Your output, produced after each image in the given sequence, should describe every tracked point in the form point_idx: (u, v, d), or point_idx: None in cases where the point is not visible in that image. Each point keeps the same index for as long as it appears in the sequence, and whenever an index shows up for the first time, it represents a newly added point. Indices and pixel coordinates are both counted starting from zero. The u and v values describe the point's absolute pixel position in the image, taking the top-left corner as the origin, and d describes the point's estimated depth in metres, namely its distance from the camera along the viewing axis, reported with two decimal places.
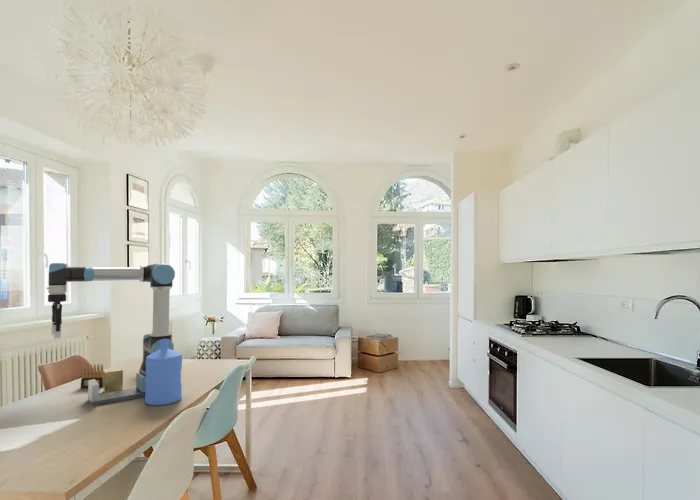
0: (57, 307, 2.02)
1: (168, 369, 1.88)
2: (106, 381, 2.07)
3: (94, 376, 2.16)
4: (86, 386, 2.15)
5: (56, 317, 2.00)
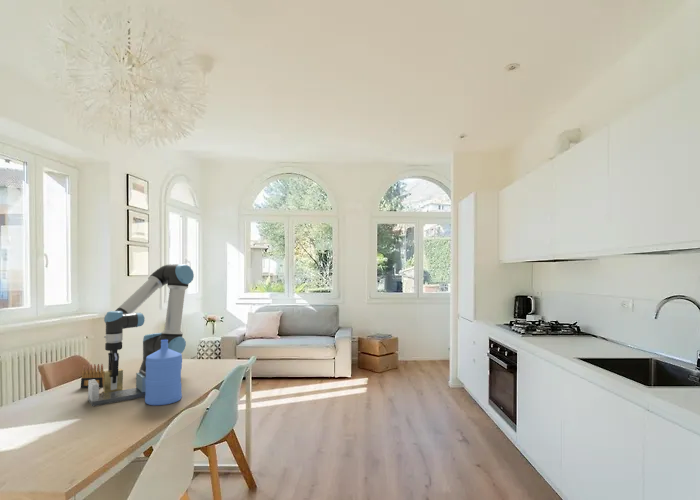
0: (115, 359, 2.06)
1: (168, 369, 1.88)
2: (106, 381, 2.07)
3: (94, 376, 2.16)
4: (86, 386, 2.15)
5: (113, 370, 2.06)
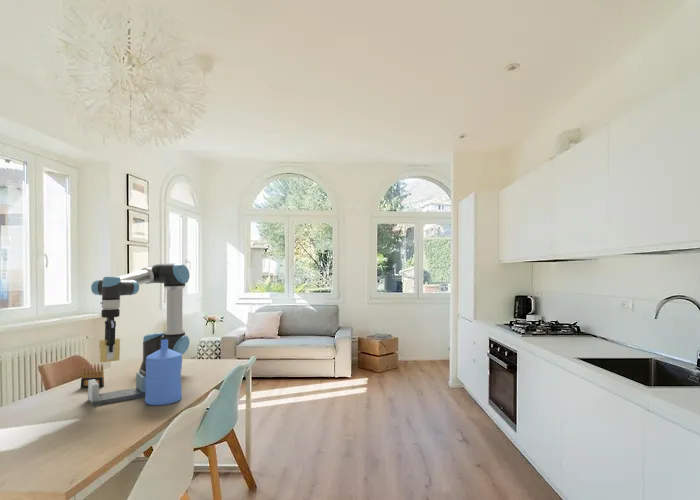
0: (111, 327, 1.93)
1: (168, 369, 1.88)
2: (102, 350, 1.94)
3: (94, 376, 2.16)
4: (86, 386, 2.15)
5: (110, 338, 1.93)
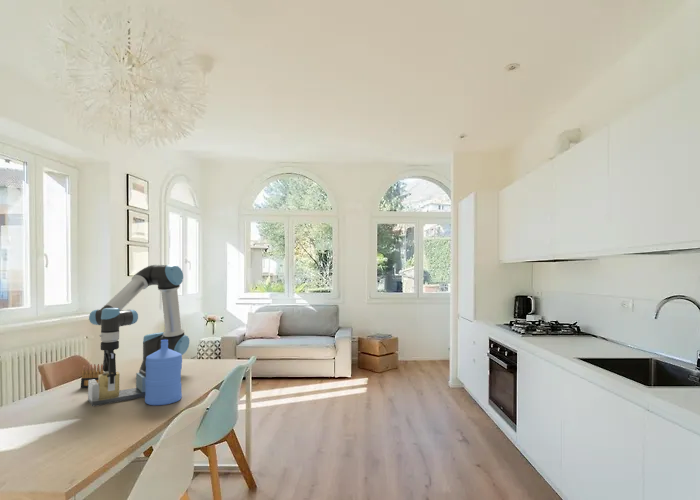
0: (111, 357, 1.90)
1: (168, 369, 1.88)
2: (101, 385, 1.92)
3: (94, 376, 2.16)
4: (86, 386, 2.15)
5: (110, 369, 1.89)
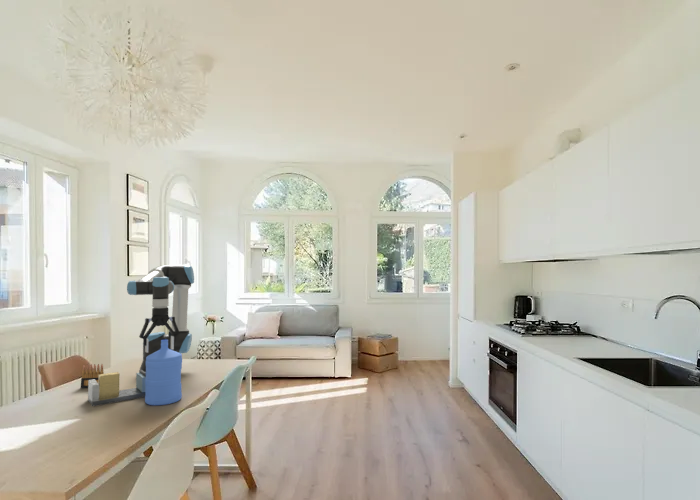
0: (145, 321, 2.07)
1: (168, 369, 1.88)
2: (101, 385, 1.92)
3: (94, 376, 2.16)
4: (86, 386, 2.15)
5: (141, 331, 2.06)
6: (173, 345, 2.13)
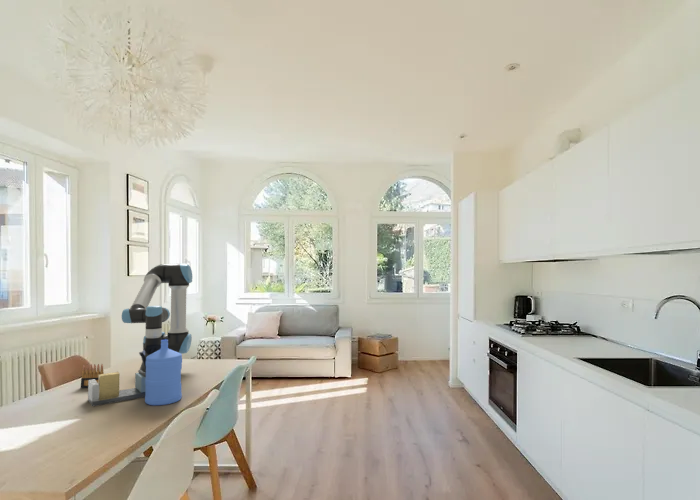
0: (141, 355, 2.05)
1: (168, 369, 1.88)
2: (101, 385, 1.92)
3: (94, 376, 2.16)
4: (86, 386, 2.15)
5: (143, 365, 2.06)
6: None
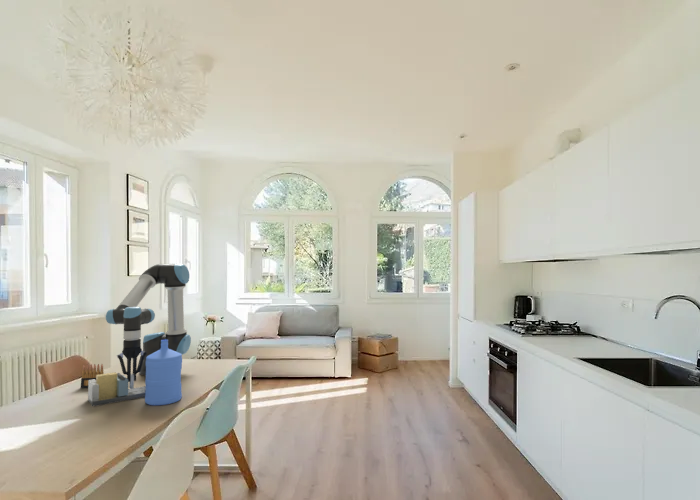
0: (118, 358, 1.98)
1: (168, 369, 1.88)
2: (99, 386, 1.91)
3: (94, 376, 2.16)
4: (86, 386, 2.15)
5: None
6: (133, 384, 2.00)
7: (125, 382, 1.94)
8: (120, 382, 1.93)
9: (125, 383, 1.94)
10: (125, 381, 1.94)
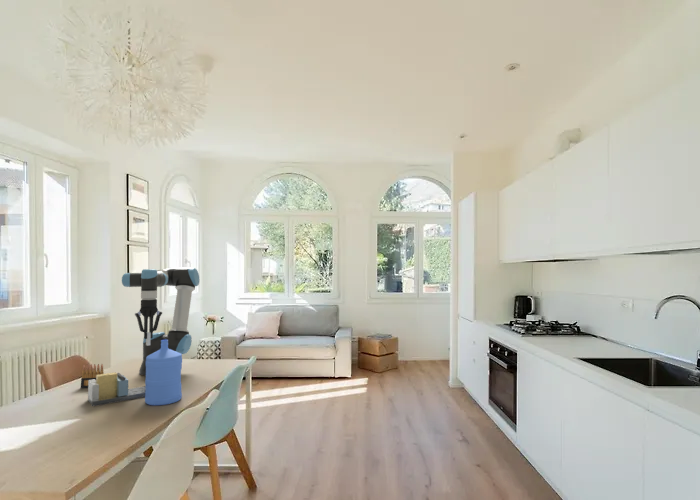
0: (136, 316, 2.10)
1: (168, 369, 1.88)
2: (99, 386, 1.91)
3: (94, 376, 2.16)
4: (86, 386, 2.15)
5: (139, 326, 2.11)
6: (150, 341, 2.12)
7: (125, 382, 1.94)
8: (120, 382, 1.93)
9: (125, 383, 1.94)
10: (125, 381, 1.94)
